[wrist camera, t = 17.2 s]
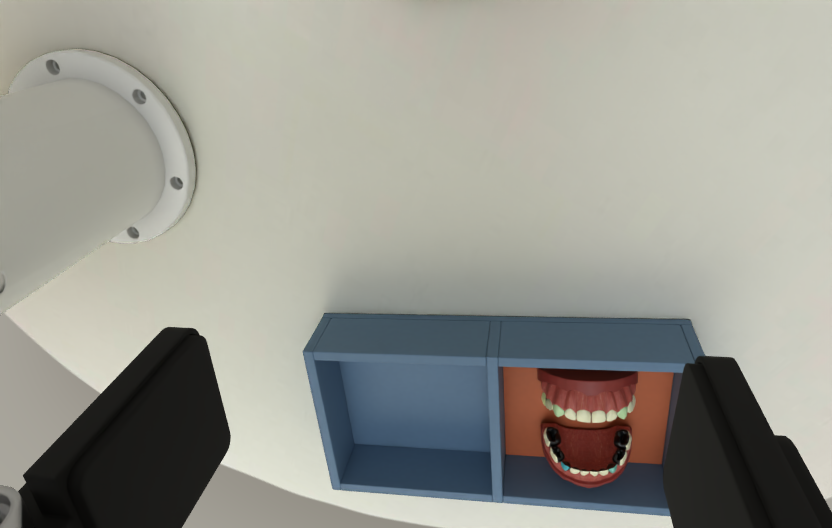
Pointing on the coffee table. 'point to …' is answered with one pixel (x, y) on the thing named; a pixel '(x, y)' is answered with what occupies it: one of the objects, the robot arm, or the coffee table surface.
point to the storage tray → (486, 404)
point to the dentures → (581, 448)
